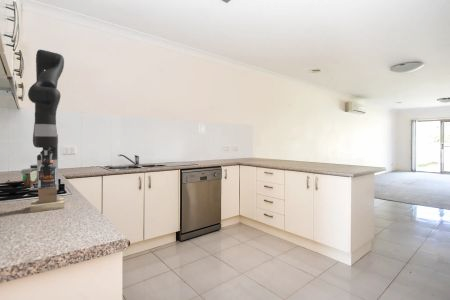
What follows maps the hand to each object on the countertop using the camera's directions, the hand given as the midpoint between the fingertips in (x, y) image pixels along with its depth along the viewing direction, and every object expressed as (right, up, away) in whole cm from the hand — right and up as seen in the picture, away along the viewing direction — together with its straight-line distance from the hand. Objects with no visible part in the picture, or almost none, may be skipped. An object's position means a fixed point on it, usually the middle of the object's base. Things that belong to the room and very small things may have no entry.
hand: (47, 174), depth 100 cm
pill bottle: (0, -6, 0) cm, 6 cm away
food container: (-49, -12, +50) cm, 71 cm away
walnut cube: (0, -11, 0) cm, 11 cm away
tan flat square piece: (0, -14, 0) cm, 14 cm away
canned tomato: (-55, -11, +66) cm, 87 cm away
